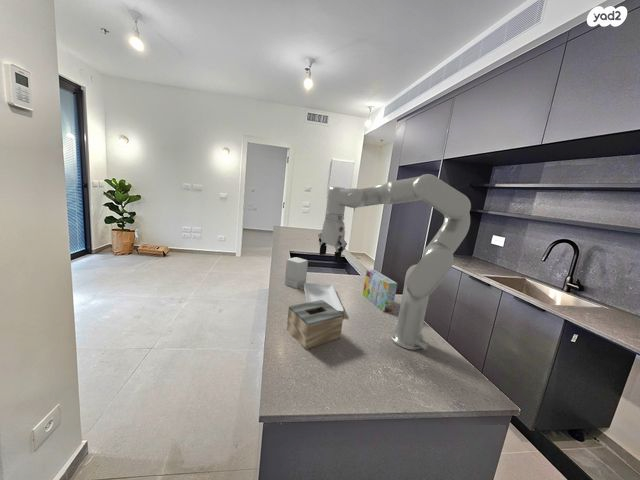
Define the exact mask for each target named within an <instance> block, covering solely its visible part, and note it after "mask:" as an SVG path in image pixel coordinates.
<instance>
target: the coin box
mask: <svg viewBox="0 0 640 480" xmlns="http://www.w3.org/2000/svg"><path fill="white" fill-rule="evenodd" d="M343 321H344V314H343V312H339V311H338V310H336V309H335V308H333V307H332V306H330V305H329V304H328V303H326V302H325V301H323V300H319V301H313V302H308V303H307V302H304V303H299V304H293V305H289V306H288V312H287V321H286V322H287V324H286V331H288V333H289V334H290V335H291V336H292V337H293V338H294V339H295V340H296V341H297V342H298V343H299V345H301V346H302V347H303V348H304V350H308V349H310V347H311V348H314V347H317V345H318V346H321V345H323V344H327V343H329V342H333V341H336V340H340V339H341V335H342V328H343ZM320 344H321V345H320ZM313 346H314V347H313ZM307 348H308V349H307Z"/></svg>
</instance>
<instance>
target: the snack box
mask: <svg viewBox="0 0 640 480" xmlns="http://www.w3.org/2000/svg"><path fill="white" fill-rule="evenodd" d="M365 272H366V273H365V280H364V285H363V290H362V296H364V297H365V298H367V299H368V300H369V301H370V302H372V304H374V306H376V307H378V308H379V309H380V310H381V311H383V312H385V313H386V312H393V309H394V304H395V299H396V295H397V294H396V293H397V288H398V285H399V283H397V282H396V281H394V280H393V279H391V278H389V277H388V276H386V275H384V274H383V273H381V272H379V271H377V270H376V269H366V271H365Z"/></svg>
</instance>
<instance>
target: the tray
mask: <svg viewBox="0 0 640 480" xmlns="http://www.w3.org/2000/svg"><path fill="white" fill-rule="evenodd" d="M303 289H304V295H305V301H306V302H305V303H308V302H313V301H319V300H323V301H325V302H326V303H328V304H329V305H330V306H332V307H333V308H335V309H336V310H338V311H339V312H340V313H343V312H344V311H345V309H344V307H343V305H342V303H341V301H340V299H339V296H338V294H337V293H336V292H337V291H336V290H335V287H334V286H333V285H331V284H321V283H320V284H319V283H308V282H306V283H304V286H303Z"/></svg>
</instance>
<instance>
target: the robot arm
mask: <svg viewBox="0 0 640 480" xmlns="http://www.w3.org/2000/svg"><path fill="white" fill-rule="evenodd" d="M418 201H423V202H424V203H426V204H427V205H429V206H430V207H431V208H433V209H435V210H437V211H438V212H439V213H441V214H442V215H443V217H444V219H443V223H442V225H441V227H440V228H439V230H438V231H437V233H436V234H435V235H434V236H433V238H432V239H431V240H430V242H429V243H428V245H426V247H425V248H424V249H423V252H422V258H421V259H420V260H419V261H418V263H416V264H413V265H411V266H410V267H408V269H407V270H406V274H405V278H404V284H403V291H402V296H401V299H400V306H399V311H398V317H397V323H396V328H395V329H394V330H393V331H391V333H390V338H391V341H392V342H393V343H395V344H396V345H397V346H399V347H401V348H404V349H405V350H406V349H407V350H413V351H414V350H415V351H417V350H420V349H423V350H424V351H426V350H428V348H429V344H430V343H429V342H428V341H426V340H424V334H422V330H423V328H424V327H423V326H424V322H425V318H426V317H425V316H426V313H427V307H428V303H429V298H430V295H431V294H432V293H433V292H434V291H435V290H436V289H437V288H438V286H439V285H441V283H442V282H443V280H444V279H445V278H446V276H447V275H448V274H449V272H450V271H451V270H452V268H453V265H454V262H455V261H454V259H455V258H454V253H455V252H456V250H458V248H459V247H460V245H461V243H462V242H463V241H464V239H465V238H466V236H467V234H468V232H469V230H470V226H471V215H470V211H471V209H472V203H471V200H470V199H469V198H468V196H467V195H465V194H464V193H462V192H461V191H459V190H457V189H456V188H454V187H453V186H451V185H449V184H448V183H447V182H445V181H444V180H442V179H440V178H439V177H438V176H436V175H434V174H431V173H426V174H425V173H424V174H422V175H420V176H415V177H409V178H404V179H398V180H392V181H390V180H389V181H388V182H384V183H383V184H381V185H377V186H370V187H363V188H345V187H341V186H340V187H339V186H330V187H329V188H328V190H327V199H326V206H325V207H326V209H325V215H324V216H325V218H324V220H323V224H322V230H321V232H320V233H318V242H319V246H320V247H319V253H318V254H319V255H320V256H325V255H326V254H327V247H328V246H327V245H330V246H333V247H334V249H335V251H334V255H333V261H334V262H341V259H342V254H343V251H344V250H345V249H346V248H347V245H348V243H347V242H346V240H345V236H346V235H345V233H346V231H345V227H346V226H345V221H344V220H345V211H346V207H347V208H350V209H356V208H357V209H359V208H363V207H369V206H378V205H396V204H402V203H410V202H418Z"/></svg>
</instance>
